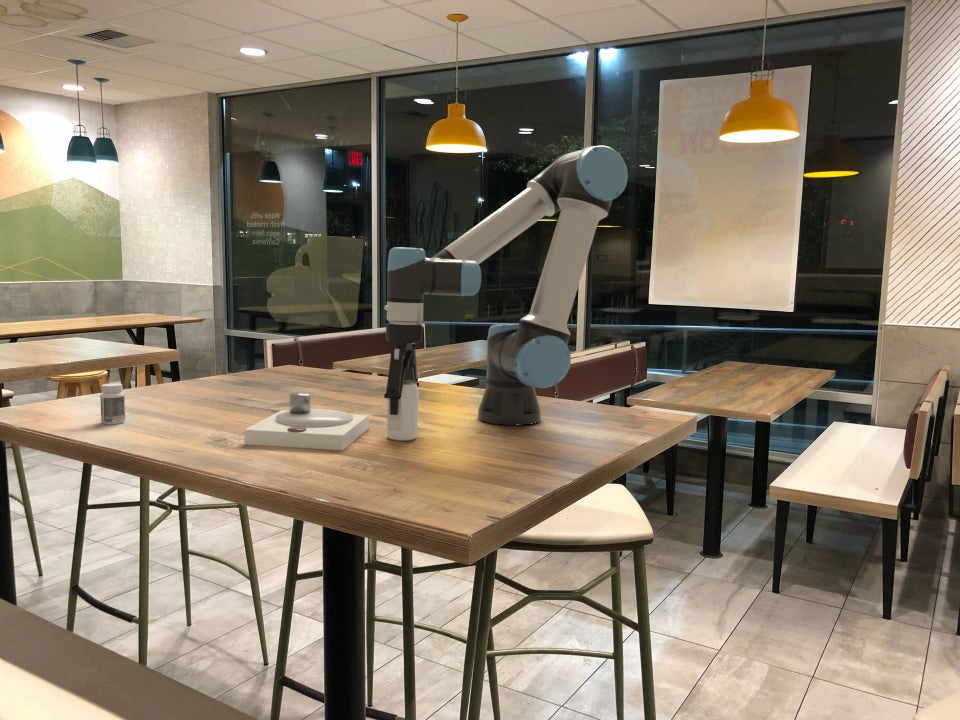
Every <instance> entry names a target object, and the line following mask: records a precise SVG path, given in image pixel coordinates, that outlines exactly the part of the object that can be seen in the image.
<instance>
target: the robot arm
mask: <svg viewBox="0 0 960 720" xmlns="http://www.w3.org/2000/svg"><path fill="white" fill-rule="evenodd" d="M627 167H628V166H627V164H626V163H625V160H624V159H623V157H622V155H621V154H620V153H619V152H618V151H617V150H615V149H614V148H612V147H610V146H607V145H591V146H587V147H585V148H584V149H581V150H576V151H572V152H568V153H566V154H564V155H561V156H560V157H559V158H557V159H556V160H555V161H553V162H552V163H551V164H549V165H548V166H547V167H546V168H545V169H543V170H542V171H541V172H540V173H539V174H537V175H536V176H535V177H533V178H532V179H530V180H529V181H528V182H527V184H526V189H524V190H523V191H521V192H520V193H519V194H518V195H516V196H515V197H513V198H512V199H511V200H509V201H507V203H505V204H503V205H502V206H501V207H500V208H498V209H497V210H496V211H494V212H493V213H491V214H490V215H488V216H486V217H485V218H484V219H483V220H481V221H480V222H479V223H478V224H476V225H475V226H473V227H472V228H470V229H469V230H468V231H466V232H465V233H464V234H462V235H461V236H459V237H458V238H457V239H455V240H453V242H451V243H450V244H449V245H447V246H446V247H445V248H443V249H442V250H440V251H438V252H436V254H435V255H433V256H432V257H430V258H429V257H426V251H425V250H424V248H420V247H419V248H418V247H401V246H400V247H398V246H397V247H396V246H395V247H392V248H391V249H390V250H389V252H388V259H387V269H386V271H387V279H386V280H387V281H386V282H387V285H386V286H387V289H386V291H387V292H386V293H387V294H386V296H387V298H386V300H387V301H386V305H384V307H383V308H384V310H385V311H386V320H387V321H388V322H387V323H386V325H385V326H386V327H385V340H386V341H387V342H390V343H395V345H394V348H391V349H390V361H389V368H388V376H387V382H386V383H387V384H386V391H385V393H384V395H383V396H384V397H383V399H387V398H388V429H387V428H386V431H387V430H394V431H401V428H402V398H401V394H402V389H403V383H404V380H412V381H416V382H417V383H416V385H417V387H418V388H419V386H420V381H419V380H418V371H417V369H418V368H417V354H416V348H417V344H416V343H418V344H419V343H421V342H422V340H423V325H422V324H421V323H422V322H424V297H425V296H424V295H429V296H431V295H438V296H461V297H466V296H468V297H469V296H475V295H476V294H477V293H478V292H479V291H480V288H481V283H482V271H481V267H480V264H481V263H483V262H484V261H485V260H486V259H488V258H490V257H491V256H492V255H493V254H495V253H496V252H498V251H499V250H500V249H502V248H503V247H504V246H506V245H507V244H509V243H510V242H511V241H512V240H513V239H515V238H516V237H518V236H520V235H521V234H523V232H525V231H526V230H528V229H529V228H530V227H532V226H533V225H534V224H535V223H537V222H539V220H541V219H542V218H544V217H545V216H546V217H552V216H553V215H555V214H557V213H558V212H559V211H560V212H559V215H558V216H559V217H558V219H557V223H556V225H555V229H554V232H553V236H552V239H551V242H550V245H549V248H548V252H547V255H546V259H545V262H544V266H543V267H542V271H541V275H540V277H539V281H538V284H537V288H536V291H535V294H534V297H533V301H532V304H531V308H530V310H529V313H528V314H527V315H525V316H523V317H522V318H520V320H519V322H518V323H504V324H503V323H501V324H500V323H499V324H493V325H490V327H489V328H488V335H487V338H486V340H487V351H486V352H487V353H486V354H487V355H486V361H487V362H486V387H485V390H484V392H483V396H482V397H481V401H480V403H479V407H478V412H477V415H478V416H477V419H478V420H479V421H482V422H485V423H487V424H492V425H493V424H494V425H499V424H502V425H501V426H517V425H516V424H530V425H532V424H531V423H535V422H538V421H540V420H542V417H541V416H542V414H541V413H542V411H541V406H540V403H539V400H538V396H537V392H536V389H537V388H539V389H547V388H550V387H553V386H556V384H559V383H560V382H561V381H562V380H563V379H564V378H565V377H566V375H567V374H568V372H569V370H570V368H571V362H572V356H571V352H570V350H569V346H568V344H569V340H570V339H571V332H570V330H569V328H568V325H567V323H568V321H569V318H570V315H571V311H572V308H573V305H574V301H575V298H576V295H577V292H578V288H579V285H580V281H581V279H582V276H583V272H584V268H585V266H586V263H587V259H588V257H589V253H590V250H591V247H592V244H593V240H594V237H595V233H596V230H597V227H598V225H599V221H601V220H603V219H605V218H607V217H608V216H609V212H610V208H611V206H612V203H613V200H615V199H617V198H618V197H619V196H620V195H621V194H622V193H623V192H624V190H625V189H626V186H627V183H628V180H629V179H628V177H629V174H628V173H629V172H628V168H627ZM418 381H419V382H418ZM540 422H541V421H540ZM538 423H539V422H538ZM535 424H536V423H535Z"/></svg>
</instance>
